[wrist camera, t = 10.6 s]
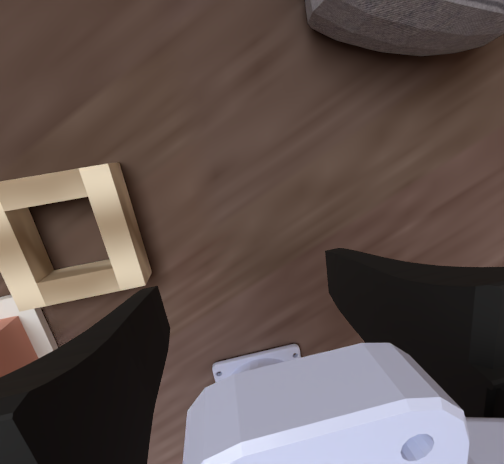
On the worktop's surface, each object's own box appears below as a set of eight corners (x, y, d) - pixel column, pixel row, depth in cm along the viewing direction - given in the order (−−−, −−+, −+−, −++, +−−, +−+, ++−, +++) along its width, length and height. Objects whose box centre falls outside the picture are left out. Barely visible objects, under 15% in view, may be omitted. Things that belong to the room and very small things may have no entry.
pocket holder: (151, 272, 22) (145, 285, 20) (38, 295, 21) (19, 311, 19) (119, 162, 19) (107, 163, 17) (-12, 184, 18) (-40, 188, 16)
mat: (66, 364, 23) (62, 370, 22) (-18, 383, 22) (-24, 389, 22) (32, 290, 21) (27, 294, 20) (-61, 309, 20) (-69, 313, 20)
